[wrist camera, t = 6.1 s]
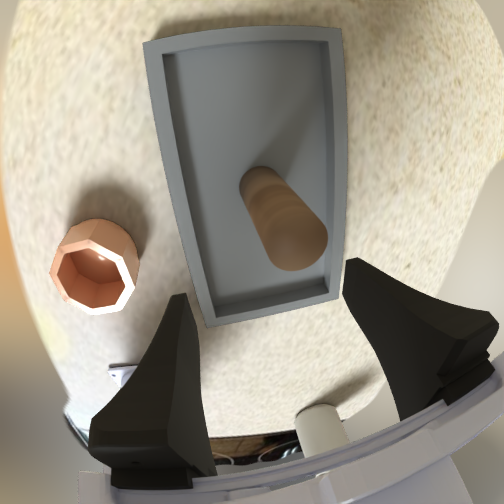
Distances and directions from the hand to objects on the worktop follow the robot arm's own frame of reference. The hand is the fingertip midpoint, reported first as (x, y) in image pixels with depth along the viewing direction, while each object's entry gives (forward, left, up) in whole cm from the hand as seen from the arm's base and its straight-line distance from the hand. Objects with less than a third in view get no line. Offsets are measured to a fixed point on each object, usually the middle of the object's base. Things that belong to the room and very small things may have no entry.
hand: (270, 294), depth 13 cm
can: (-39, -8, -10) cm, 41 cm away
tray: (+1, -2, -10) cm, 10 cm away
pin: (+1, -2, -10) cm, 10 cm away
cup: (-2, +11, -10) cm, 15 cm away
